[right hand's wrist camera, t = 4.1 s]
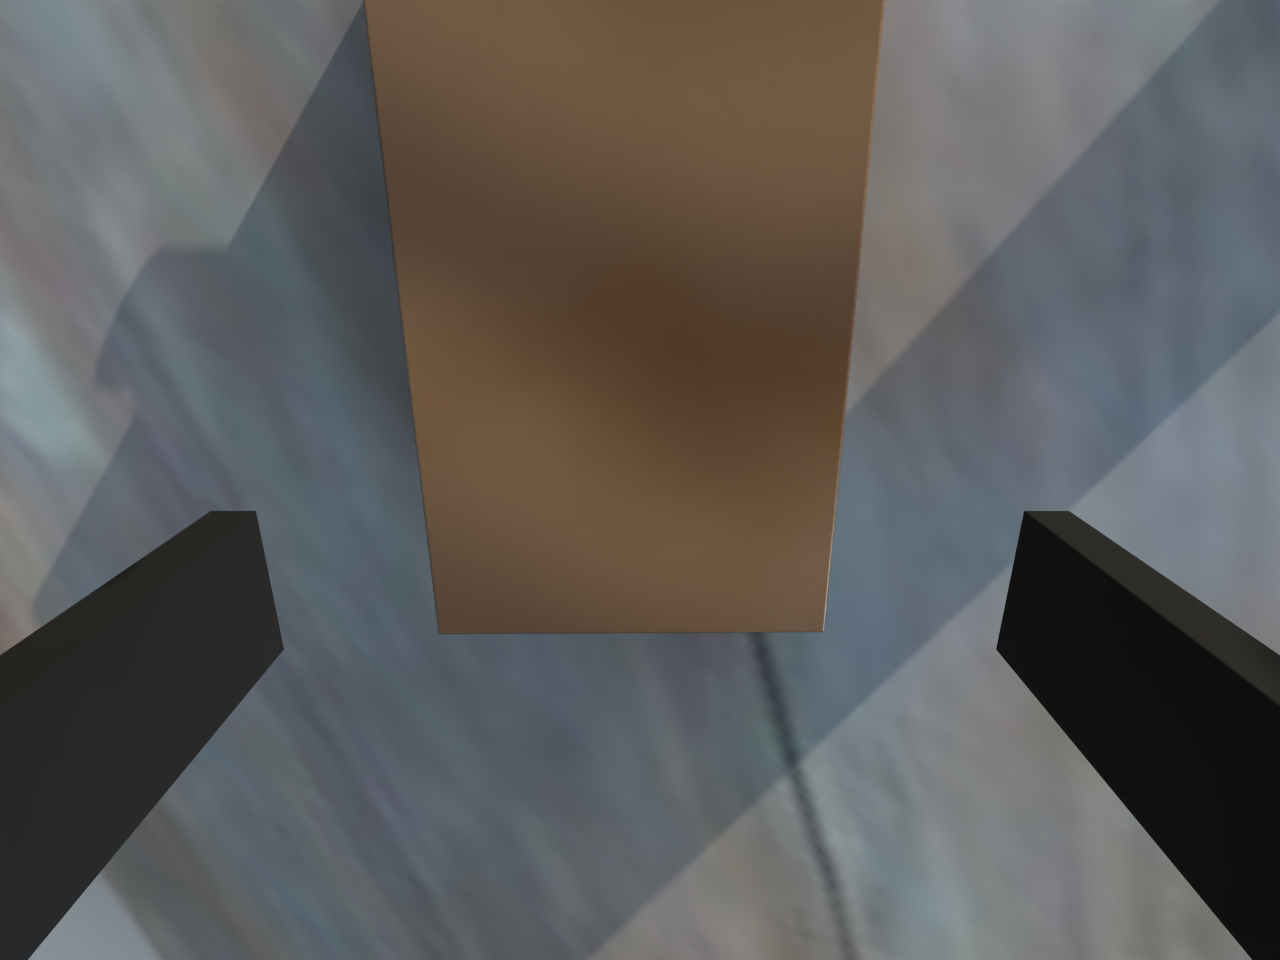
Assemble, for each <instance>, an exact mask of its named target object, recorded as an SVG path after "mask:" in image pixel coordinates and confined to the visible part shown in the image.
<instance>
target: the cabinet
mask: <svg viewBox="0 0 1280 960" xmlns="http://www.w3.org/2000/svg"><path fill="white" fill-rule="evenodd" d="M363 3H364V11H365V20H366V28H367V37H368V45H369V53H370V62H371V70H372V79H373V87H374V95H375V104H376V112H377V121H378V129H379V137H380V146H381V154H382V163H383V171H384V179H385V188H386V196H387V205H388V213H389V221H390V230H391V238H392V247H393V255H394V263H395V272H396V280H397V289H398V297H399V305H400V314H401V322H402V331H403V339H404V347H405V356H406V364H407V373H408V381H409V389H410V398H411V406H412V415H413V423H414V431H415V440H416V448H417V457H418V465H419V473H420V482H421V490H422V499H423V507H424V516H425V524H426V532H427V541H428V549H429V558H430V566H431V574H432V583H433V591H434V600H435V608H436V616H437V625H438V632H439V634H534V633H734V632H823V631H824V628H825V618H826V608H827V597H828V587H829V576H830V566H831V555H832V545H833V535H834V524H835V514H836V503H837V493H838V483H839V472H840V462H841V451H842V441H843V431H844V420H845V410H846V399H847V389H848V379H849V368H850V358H851V347H852V337H853V327H854V316H855V306H856V295H857V285H858V275H859V264H860V254H861V243H862V233H863V223H864V212H865V202H866V191H867V181H868V170H869V160H870V150H871V139H872V129H873V118H874V108H875V98H876V87H877V77H878V66H879V56H880V46H881V35H882V25H883V14H884V4H885V0H363Z"/></svg>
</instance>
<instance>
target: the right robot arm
mask: <svg viewBox="0 0 1280 960" xmlns="http://www.w3.org/2000/svg"><path fill="white" fill-rule="evenodd" d="M283 650H284V648H283V643H282V638H281V633H280V628H279V623H278V619H277V614H276V609H275V604H274V599H273V594H272V589H271V584H270V579H269V574H268V569H267V564H266V559H265V554H264V549H263V544H262V540H261V535H260V530H259V525H258V520H257V515H256V511H210V512H209V513H208V514H206V515H205V516H203V517H202V518H200V519H199V520H197V521H196V522H194V523H193V524H191V525H190V526H189V527H187V528H186V529H184V530H183V531H181V532H180V533H178V534H177V535H175V536H174V537H172V538H171V539H170V540H168V541H167V542H165V543H164V544H162V545H161V546H159V547H158V548H156V549H155V550H153V551H152V552H151V553H149V554H148V555H146V556H145V557H143V558H142V559H140V560H139V561H137V562H136V563H134V564H133V565H132V566H130V567H129V568H127V569H126V570H124V571H123V572H121V573H120V574H118V575H117V576H115V577H114V578H113V579H111V580H110V581H108V582H107V583H105V584H104V585H102V586H101V587H99V588H98V589H97V590H95V591H94V592H92V593H91V594H89V595H88V596H86V597H85V598H83V599H82V600H80V601H79V602H78V603H76V604H75V605H73V606H72V607H70V608H69V609H67V610H66V611H64V612H63V613H61V614H60V615H59V616H57V617H56V618H54V619H53V620H51V621H50V622H48V623H47V624H45V625H44V626H42V627H41V628H40V629H38V630H37V631H35V632H34V633H32V634H31V635H29V636H28V637H26V638H25V639H23V640H22V641H21V642H19V643H18V644H16V645H15V646H13V647H12V648H10V649H9V650H7V651H6V652H4V653H3V654H2V655H0V960H28V959H29V958H30V956H31V955H32V954H33V953H34V951H35V950H36V949H37V948H38V947H39V945H40V944H41V943H42V942H43V941H44V939H45V938H46V937H47V936H48V935H49V933H50V932H51V931H52V930H53V928H54V927H55V926H56V925H57V924H58V922H59V921H60V920H61V919H62V918H63V916H64V915H65V914H66V913H67V911H68V910H69V909H70V908H71V907H72V905H73V904H74V903H75V902H76V901H77V899H78V898H79V897H80V896H81V895H82V893H83V892H84V891H85V890H86V888H87V887H88V886H89V885H90V884H91V882H92V881H93V880H94V879H95V878H96V876H97V875H98V874H99V873H100V871H101V870H102V869H103V868H104V867H105V865H106V864H107V863H108V862H109V861H110V859H111V858H112V857H113V856H114V854H115V853H116V852H117V851H118V850H119V848H120V847H121V846H122V845H123V844H124V842H125V841H126V840H127V839H128V838H129V836H130V835H131V834H132V833H133V831H134V830H135V829H136V828H137V827H138V825H139V824H140V823H141V822H142V821H143V819H144V818H145V817H146V816H147V814H148V813H149V812H150V811H151V810H152V808H153V807H154V806H155V805H156V804H157V802H158V801H159V800H160V799H161V798H162V796H163V795H164V794H165V793H166V791H167V790H168V789H169V788H170V787H171V785H172V784H173V783H174V782H175V781H176V779H177V778H178V777H179V776H180V774H181V773H182V772H183V771H184V770H185V768H186V767H187V766H188V765H189V764H190V762H191V761H192V760H193V759H194V758H195V756H196V755H197V754H198V753H199V751H200V750H201V749H202V748H203V747H204V745H205V744H206V743H207V742H208V741H209V739H210V738H211V737H212V736H213V734H214V733H215V732H216V731H217V730H218V728H219V727H220V726H221V725H222V724H223V722H224V721H225V720H226V719H227V717H228V716H229V715H230V714H231V713H232V711H233V710H234V709H235V708H236V707H237V705H238V704H239V703H240V702H241V701H242V699H243V698H244V697H245V696H246V694H247V693H248V692H249V691H250V690H251V688H252V687H253V686H254V685H255V684H256V682H257V681H258V680H259V679H260V677H261V676H262V675H263V674H264V673H265V671H266V670H267V669H268V668H269V667H270V665H271V664H272V663H273V662H274V661H275V659H276V658H277V657H278V656H279V654H280V653H281V652H282V651H283ZM996 650H997V651H998V652H999V653H1000V654H1001V656H1002V657H1003V658H1004V659H1005V661H1006V662H1007V663H1008V664H1009V665H1010V667H1011V668H1012V669H1013V670H1014V671H1015V673H1016V674H1017V675H1018V676H1019V677H1020V679H1021V680H1022V681H1023V682H1024V684H1025V685H1026V686H1027V687H1028V688H1029V690H1030V691H1031V692H1032V693H1033V694H1034V696H1035V697H1036V698H1037V699H1038V701H1039V702H1040V703H1041V704H1042V705H1043V707H1044V708H1045V709H1046V710H1047V711H1048V713H1049V714H1050V715H1051V716H1052V717H1053V719H1054V720H1055V721H1056V722H1057V724H1058V725H1059V726H1060V727H1061V728H1062V730H1063V731H1064V732H1065V733H1066V734H1067V736H1068V737H1069V738H1070V739H1071V741H1072V742H1073V743H1074V744H1075V745H1076V747H1077V748H1078V749H1079V750H1080V751H1081V753H1082V754H1083V755H1084V756H1085V758H1086V759H1087V760H1088V761H1089V762H1090V764H1091V765H1092V766H1093V767H1094V768H1095V770H1096V771H1097V772H1098V773H1099V774H1100V776H1101V777H1102V778H1103V779H1104V781H1105V782H1106V783H1107V784H1108V785H1109V787H1110V788H1111V789H1112V790H1113V791H1114V793H1115V794H1116V795H1117V796H1118V798H1119V799H1120V800H1121V801H1122V802H1123V804H1124V805H1125V806H1126V807H1127V808H1128V810H1129V811H1130V812H1131V813H1132V814H1133V816H1134V817H1135V818H1136V819H1137V821H1138V822H1139V823H1140V824H1141V825H1142V827H1143V828H1144V829H1145V830H1146V831H1147V833H1148V834H1149V835H1150V836H1151V838H1152V839H1153V840H1154V841H1155V842H1156V844H1157V845H1158V846H1159V847H1160V848H1161V850H1162V851H1163V852H1164V853H1165V855H1166V856H1167V857H1168V858H1169V859H1170V861H1171V862H1172V863H1173V864H1174V865H1175V867H1176V868H1177V869H1178V870H1179V871H1180V873H1181V874H1182V875H1183V876H1184V878H1185V879H1186V880H1187V881H1188V882H1189V884H1190V885H1191V886H1192V887H1193V888H1194V890H1195V891H1196V892H1197V893H1198V895H1199V896H1200V897H1201V898H1202V899H1203V901H1204V902H1205V903H1206V904H1207V905H1208V907H1209V908H1210V909H1211V910H1212V911H1213V913H1214V914H1215V915H1216V916H1217V918H1218V919H1219V920H1220V921H1221V922H1222V924H1223V925H1224V926H1225V927H1226V928H1227V930H1228V931H1229V932H1230V933H1231V935H1232V936H1233V937H1234V938H1235V939H1236V941H1237V942H1238V943H1239V944H1240V945H1241V947H1242V948H1243V949H1244V950H1245V951H1246V953H1247V954H1248V955H1249V956H1250V958H1251V959H1252V960H1280V655H1278V654H1277V653H1276V652H1274V651H1273V650H1271V649H1270V648H1268V647H1267V646H1265V645H1264V644H1262V643H1261V642H1259V641H1258V640H1257V639H1255V638H1254V637H1252V636H1251V635H1249V634H1248V633H1246V632H1245V631H1243V630H1242V629H1240V628H1239V627H1238V626H1236V625H1235V624H1233V623H1232V622H1230V621H1229V620H1227V619H1226V618H1224V617H1223V616H1221V615H1220V614H1219V613H1217V612H1216V611H1214V610H1213V609H1211V608H1210V607H1208V606H1207V605H1205V604H1204V603H1202V602H1201V601H1200V600H1198V599H1197V598H1195V597H1194V596H1192V595H1191V594H1189V593H1188V592H1186V591H1185V590H1183V589H1182V588H1181V587H1179V586H1178V585H1176V584H1175V583H1173V582H1172V581H1170V580H1169V579H1167V578H1166V577H1165V576H1163V575H1162V574H1160V573H1159V572H1157V571H1156V570H1154V569H1153V568H1151V567H1150V566H1148V565H1147V564H1146V563H1144V562H1143V561H1141V560H1140V559H1138V558H1137V557H1135V556H1134V555H1132V554H1131V553H1129V552H1128V551H1127V550H1125V549H1124V548H1122V547H1121V546H1119V545H1118V544H1116V543H1115V542H1113V541H1112V540H1110V539H1109V538H1108V537H1106V536H1105V535H1103V534H1102V533H1100V532H1099V531H1097V530H1096V529H1094V528H1093V527H1091V526H1090V525H1089V524H1087V523H1086V522H1084V521H1083V520H1081V519H1080V518H1078V517H1077V516H1075V515H1074V514H1072V513H1071V512H1070V511H1024V515H1023V520H1022V525H1021V530H1020V535H1019V540H1018V544H1017V549H1016V554H1015V559H1014V564H1013V569H1012V574H1011V579H1010V584H1009V589H1008V594H1007V599H1006V604H1005V609H1004V614H1003V619H1002V623H1001V628H1000V633H999V638H998V643H997V648H996Z"/></svg>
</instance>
